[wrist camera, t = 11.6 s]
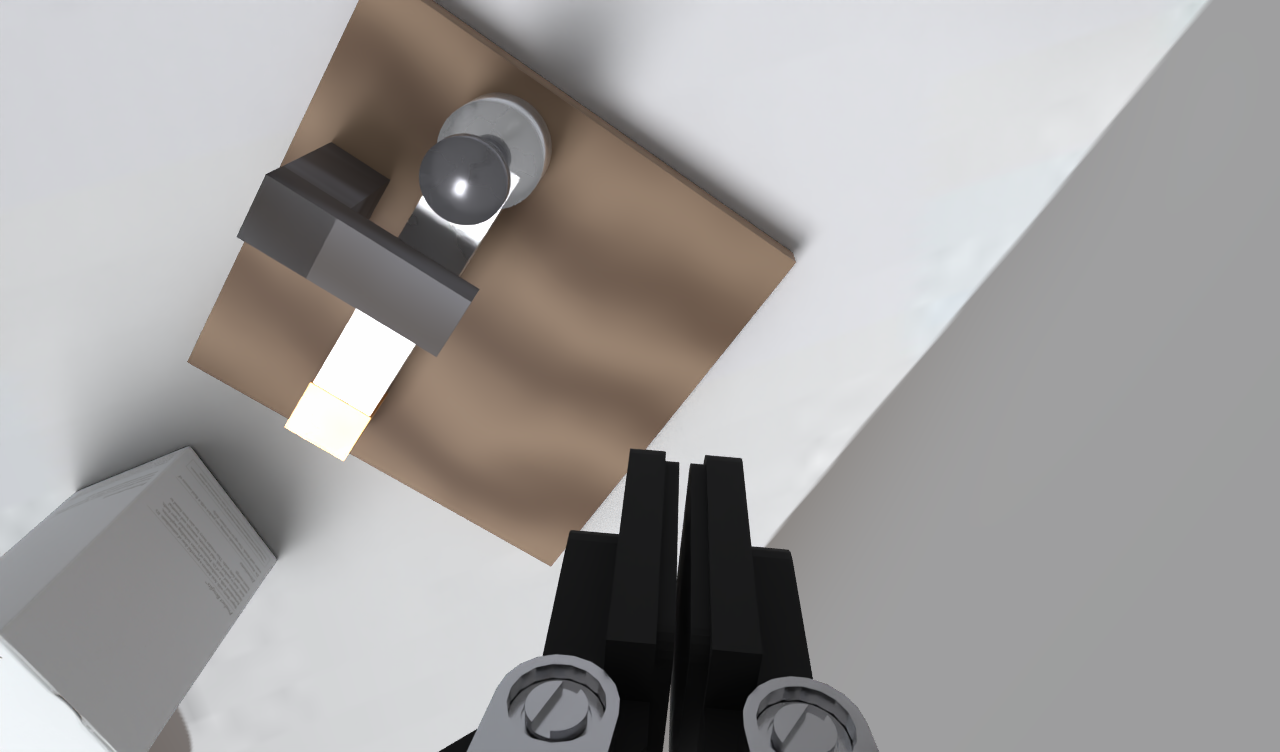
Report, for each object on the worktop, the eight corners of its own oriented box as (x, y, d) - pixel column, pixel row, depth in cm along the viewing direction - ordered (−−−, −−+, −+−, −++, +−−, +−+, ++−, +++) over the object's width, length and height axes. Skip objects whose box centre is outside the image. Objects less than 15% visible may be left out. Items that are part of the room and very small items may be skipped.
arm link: (486, 69, 36) (438, 93, 29) (572, 130, 37) (545, 168, 30) (300, 391, 43) (227, 471, 37) (375, 435, 44) (318, 521, 38)
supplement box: (69, 490, 49) (-164, 687, 36) (192, 441, 47) (-7, 630, 34) (164, 604, 53) (-16, 822, 39) (282, 562, 51) (136, 778, 37)
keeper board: (386, -33, 36) (310, -32, 29) (792, 252, 41) (814, 314, 33) (202, 350, 45) (108, 424, 37) (554, 550, 49) (531, 650, 42)
